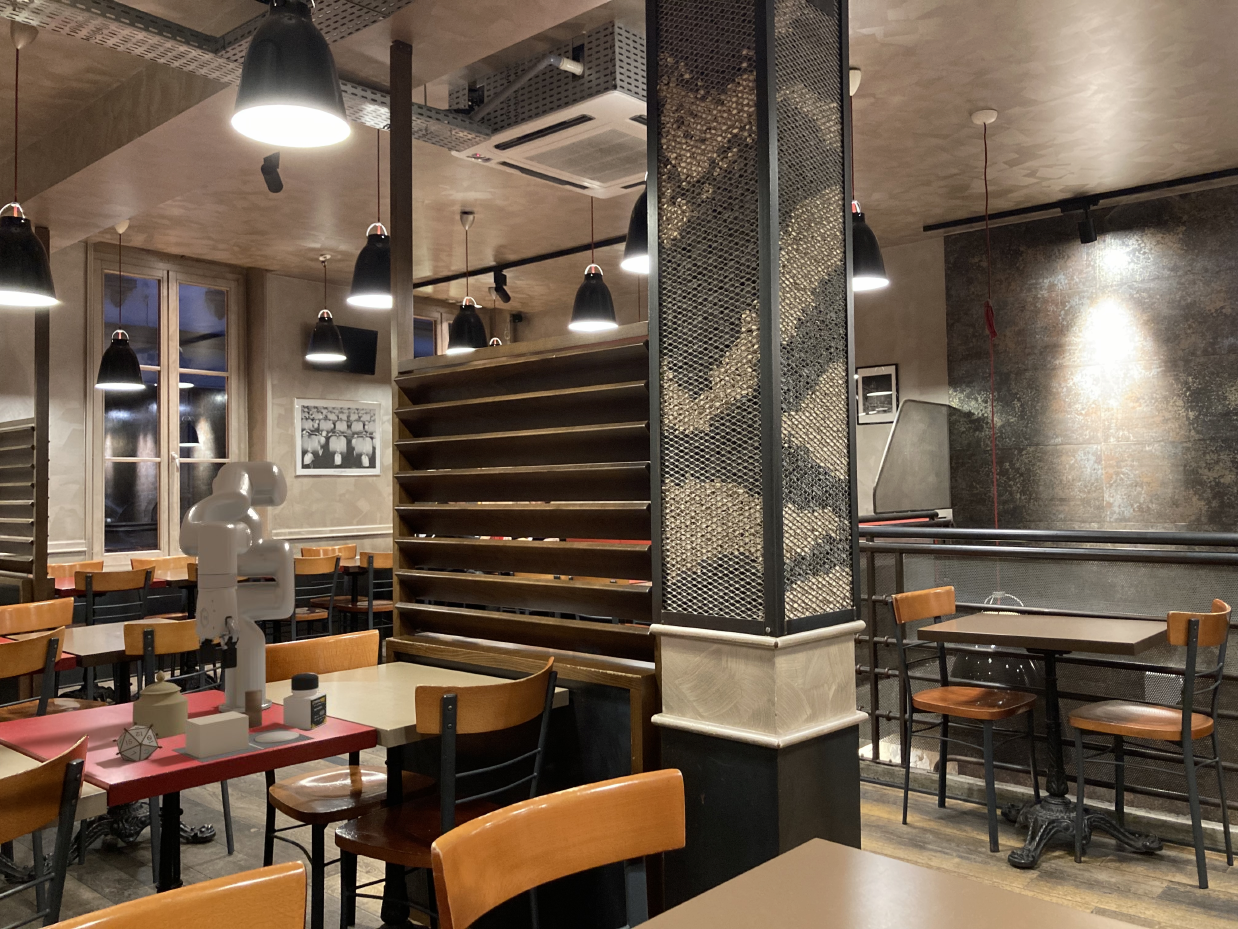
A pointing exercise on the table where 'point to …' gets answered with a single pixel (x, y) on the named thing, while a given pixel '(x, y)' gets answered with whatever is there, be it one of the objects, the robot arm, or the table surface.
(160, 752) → the table surface
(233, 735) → the block
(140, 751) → the game die
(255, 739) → the board
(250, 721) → the walnut pin
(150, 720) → the sugar bowl
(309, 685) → the medicine bottle
